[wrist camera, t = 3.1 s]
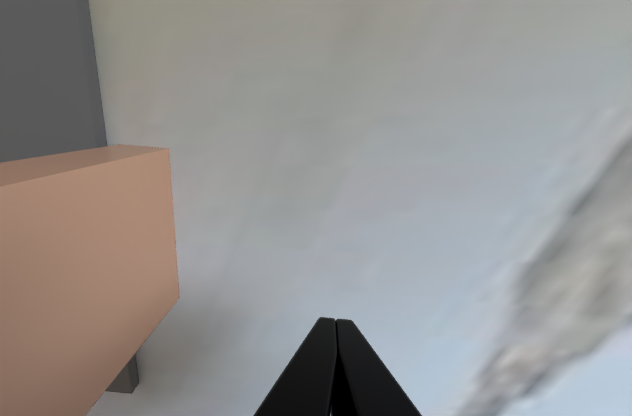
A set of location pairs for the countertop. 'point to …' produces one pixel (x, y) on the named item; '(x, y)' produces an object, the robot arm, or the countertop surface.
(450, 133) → the countertop surface
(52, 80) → the mat
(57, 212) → the tile
